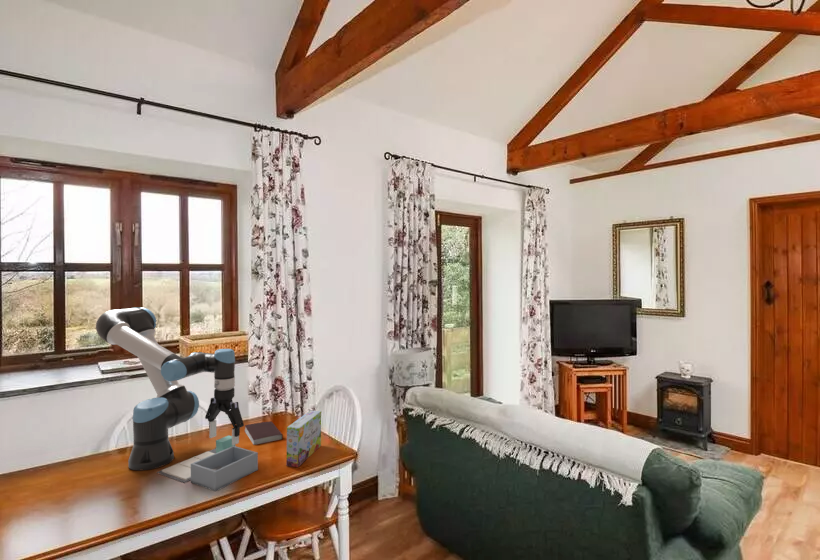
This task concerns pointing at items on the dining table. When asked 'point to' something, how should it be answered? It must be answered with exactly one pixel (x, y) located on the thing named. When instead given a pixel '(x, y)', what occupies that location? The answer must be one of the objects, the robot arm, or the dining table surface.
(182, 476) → the lid
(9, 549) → the dining table surface
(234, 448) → the tub
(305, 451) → the snack box
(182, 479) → the mat
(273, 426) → the book
